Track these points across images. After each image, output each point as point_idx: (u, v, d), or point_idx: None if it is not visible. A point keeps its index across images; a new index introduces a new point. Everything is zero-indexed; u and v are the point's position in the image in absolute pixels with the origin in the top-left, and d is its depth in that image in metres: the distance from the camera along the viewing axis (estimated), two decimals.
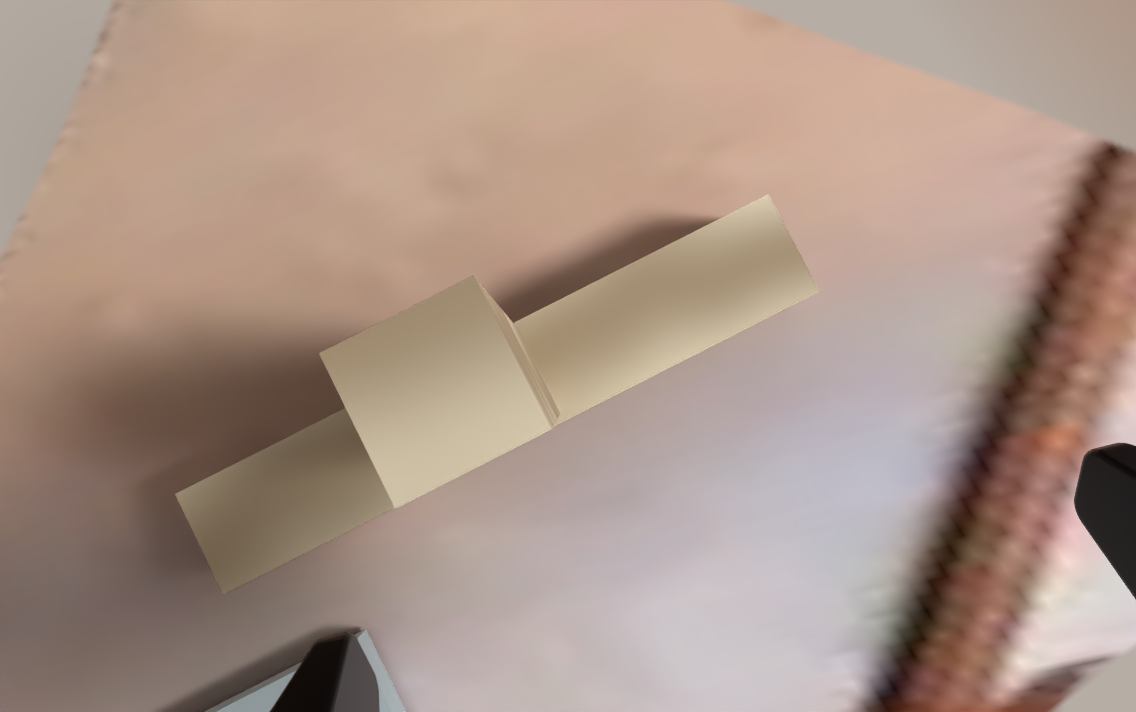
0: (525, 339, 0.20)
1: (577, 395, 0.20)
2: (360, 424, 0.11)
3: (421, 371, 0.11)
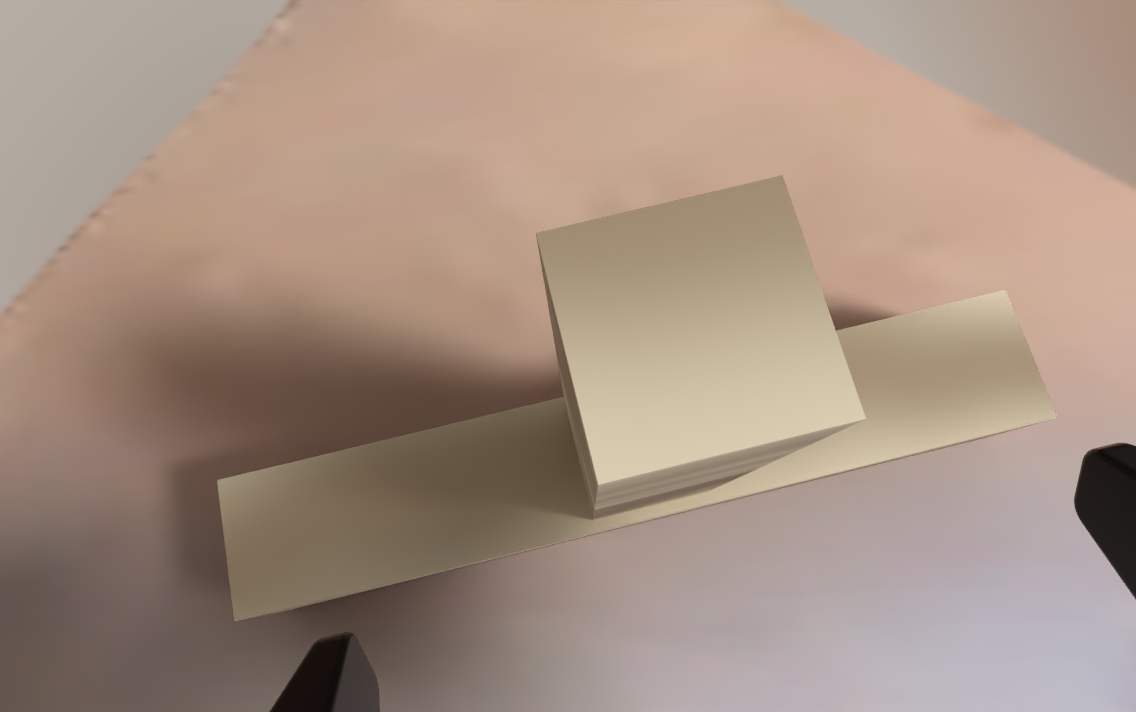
0: None
1: None
2: (573, 345, 0.07)
3: (680, 290, 0.07)
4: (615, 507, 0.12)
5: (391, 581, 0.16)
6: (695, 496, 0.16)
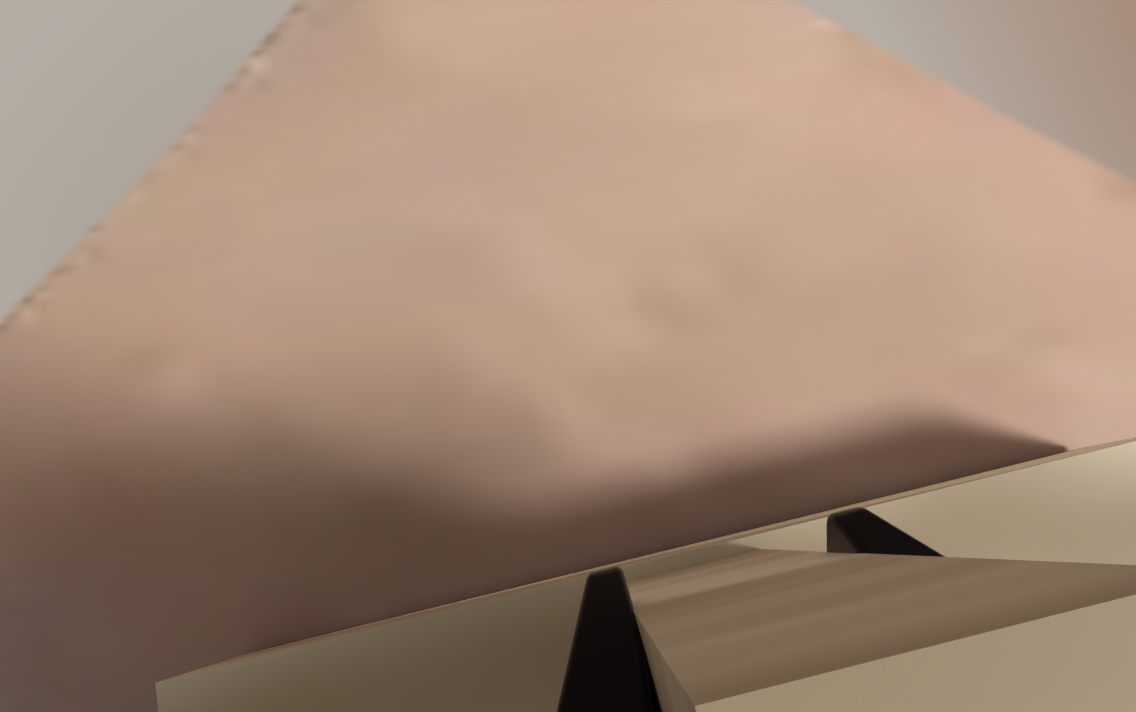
0: None
1: None
2: None
3: None
4: None
5: None
6: None
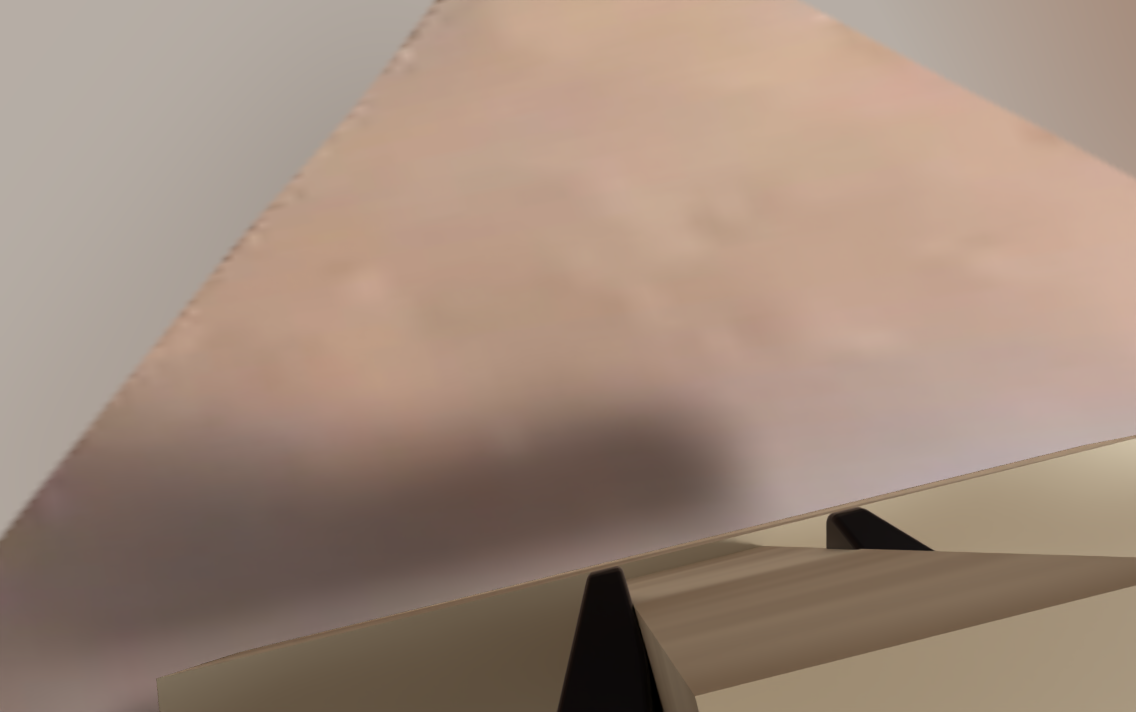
0: None
1: None
2: None
3: None
4: None
5: None
6: None
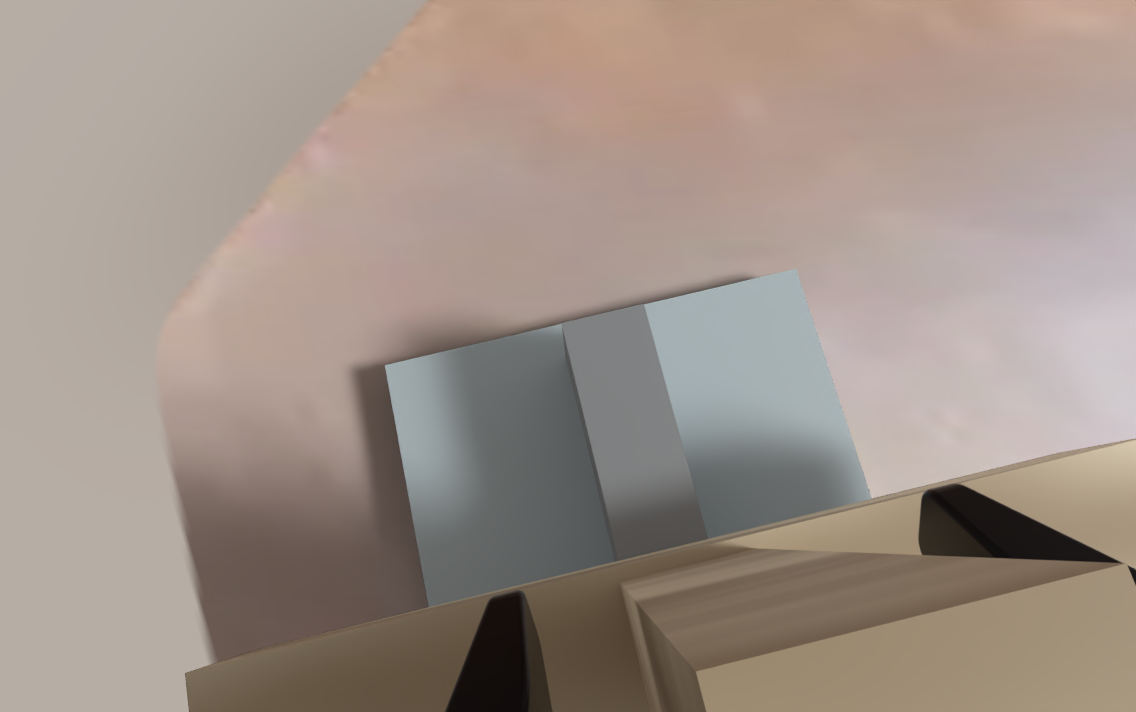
0: None
1: None
2: None
3: None
4: None
5: None
6: None
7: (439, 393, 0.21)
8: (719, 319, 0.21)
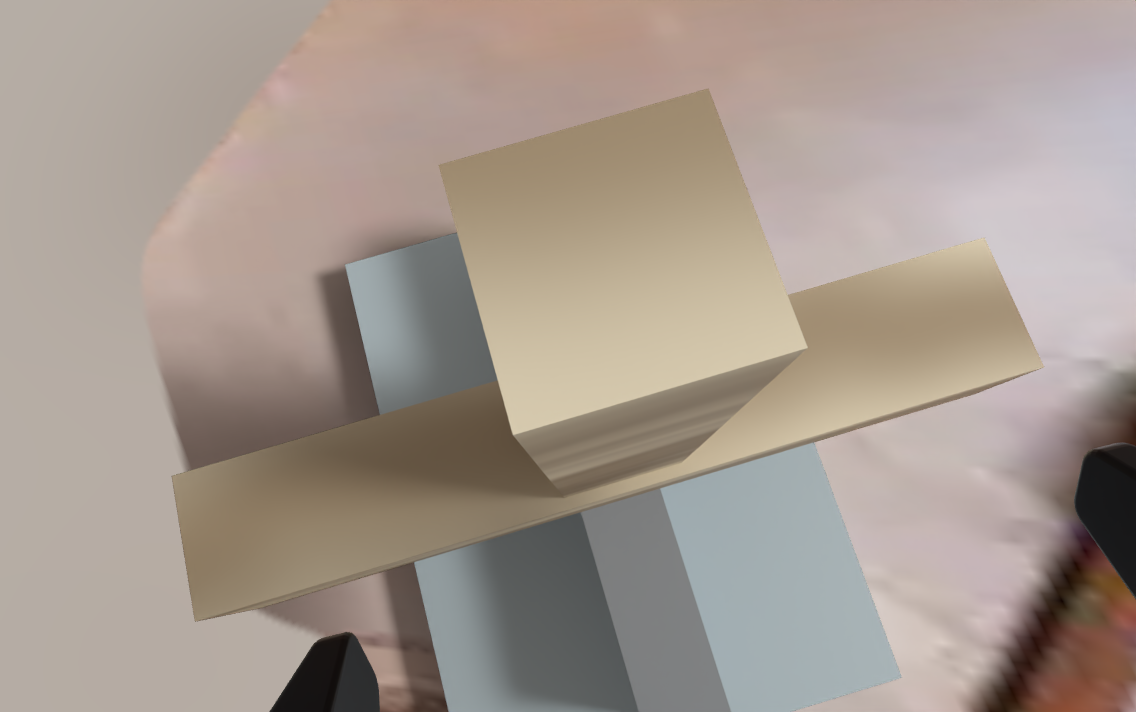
0: None
1: (707, 444, 0.15)
2: (482, 284, 0.06)
3: (599, 219, 0.06)
4: (575, 478, 0.12)
5: (356, 571, 0.15)
6: (670, 467, 0.15)
7: (394, 286, 0.23)
8: None
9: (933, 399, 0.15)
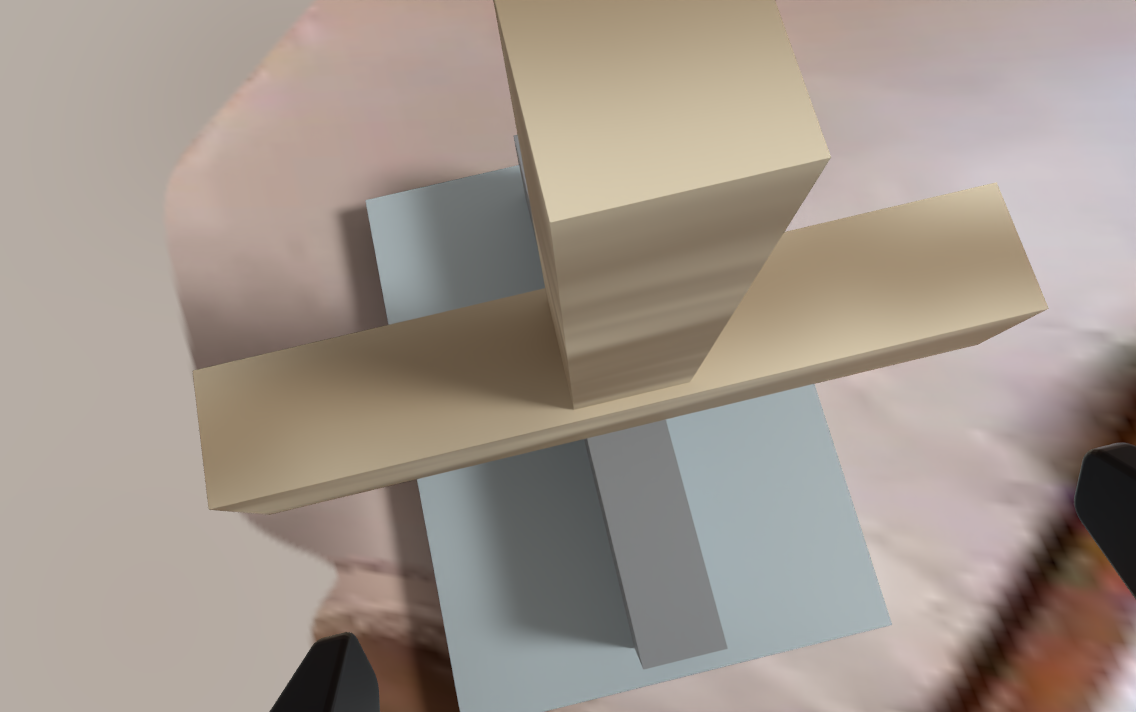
0: None
1: (715, 366, 0.16)
2: (527, 88, 0.07)
3: (639, 35, 0.07)
4: (590, 365, 0.12)
5: (368, 469, 0.15)
6: (678, 386, 0.16)
7: (413, 223, 0.24)
8: None
9: (938, 334, 0.16)
